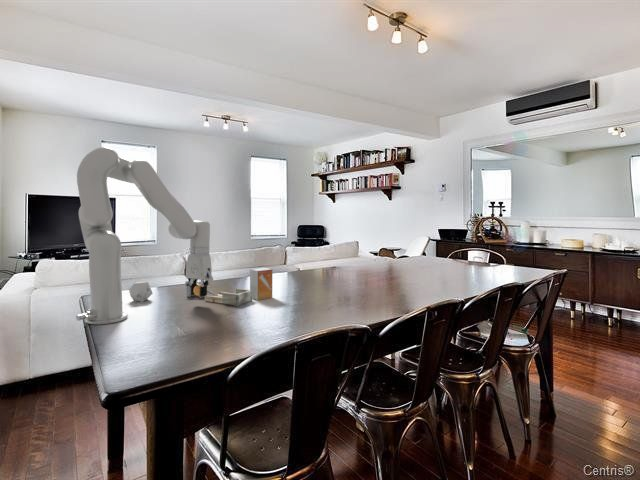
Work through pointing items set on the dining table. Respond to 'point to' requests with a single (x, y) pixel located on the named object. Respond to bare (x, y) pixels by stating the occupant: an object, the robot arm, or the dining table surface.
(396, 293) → the dining table surface
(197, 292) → the ball
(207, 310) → the dining table surface
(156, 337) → the dining table surface
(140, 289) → the die
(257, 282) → the small box
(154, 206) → the robot arm
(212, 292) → the ramp
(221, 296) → the lane
